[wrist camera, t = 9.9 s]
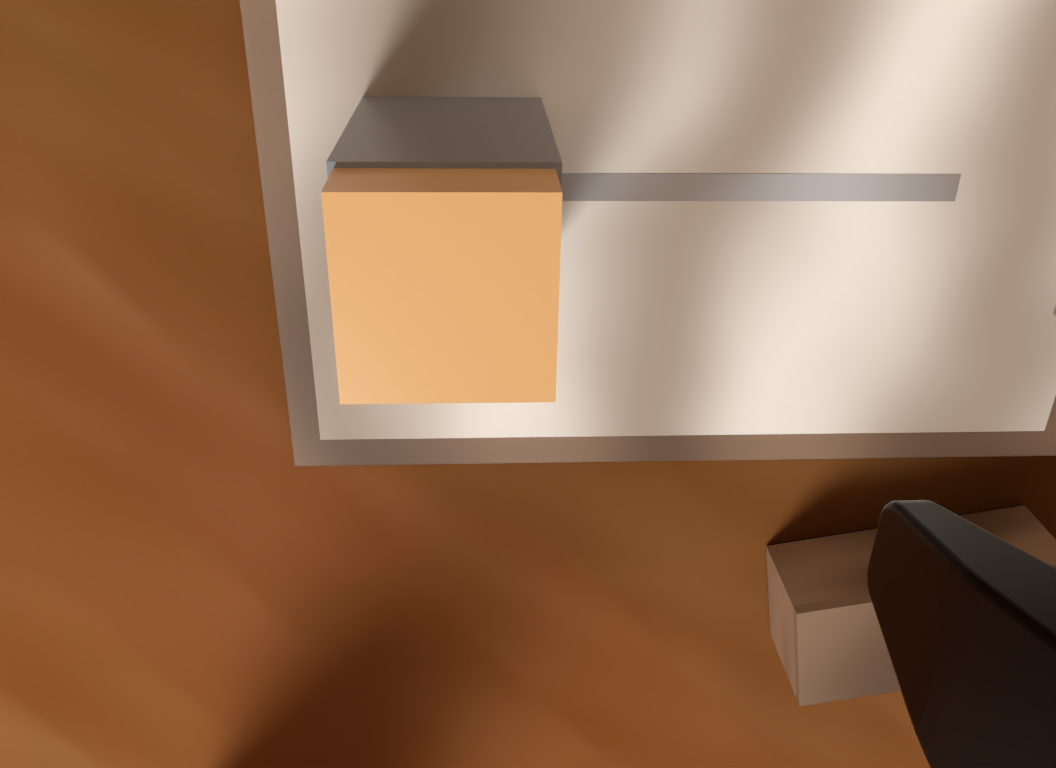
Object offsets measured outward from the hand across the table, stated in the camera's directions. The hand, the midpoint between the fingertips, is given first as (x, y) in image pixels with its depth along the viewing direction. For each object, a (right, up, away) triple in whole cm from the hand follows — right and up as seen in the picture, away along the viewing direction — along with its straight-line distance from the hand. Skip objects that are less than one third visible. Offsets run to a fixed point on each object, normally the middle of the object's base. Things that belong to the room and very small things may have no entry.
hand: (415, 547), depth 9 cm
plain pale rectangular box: (+11, -4, +17) cm, 21 cm away
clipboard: (+5, +6, +12) cm, 14 cm away
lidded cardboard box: (0, +6, +11) cm, 12 cm away
